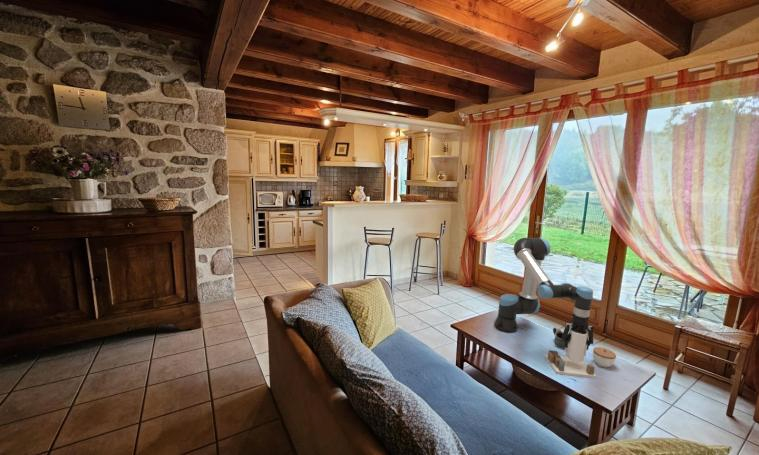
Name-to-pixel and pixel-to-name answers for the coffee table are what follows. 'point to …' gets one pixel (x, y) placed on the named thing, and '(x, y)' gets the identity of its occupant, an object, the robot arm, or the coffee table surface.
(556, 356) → the brown rectangular block
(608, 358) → the lidded jar
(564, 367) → the seat board
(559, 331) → the teapot
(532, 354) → the coffee table surface
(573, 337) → the cup
